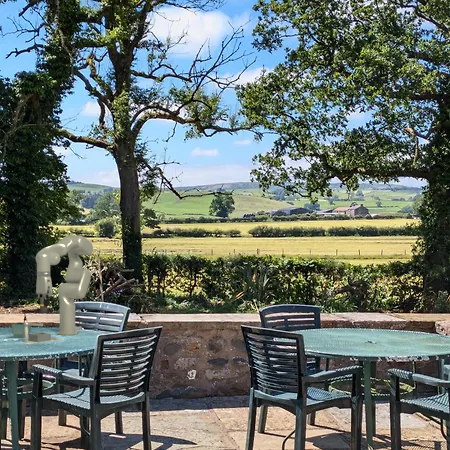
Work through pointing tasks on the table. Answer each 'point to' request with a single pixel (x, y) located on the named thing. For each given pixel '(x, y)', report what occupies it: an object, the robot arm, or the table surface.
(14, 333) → the flower pot
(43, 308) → the plug
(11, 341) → the table surface
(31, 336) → the socket plate
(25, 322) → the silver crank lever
